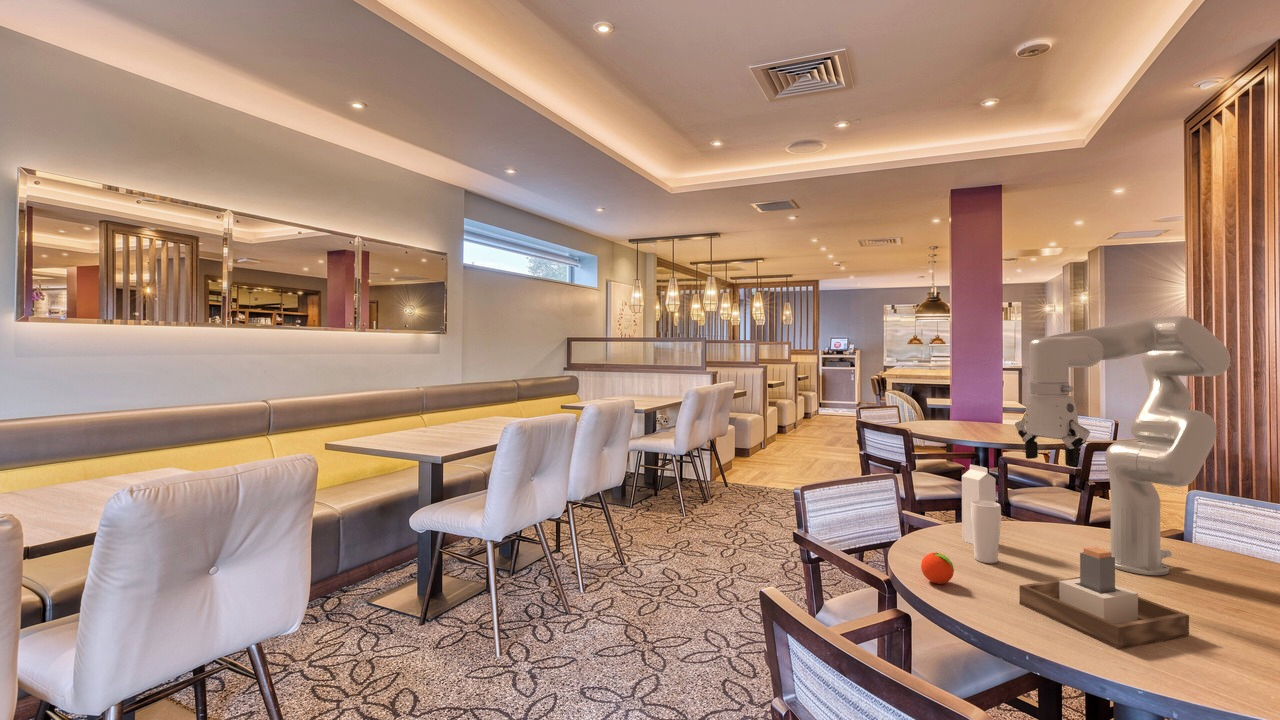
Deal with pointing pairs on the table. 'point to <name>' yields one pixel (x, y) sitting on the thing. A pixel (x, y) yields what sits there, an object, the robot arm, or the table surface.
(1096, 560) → the plug
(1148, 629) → the crate
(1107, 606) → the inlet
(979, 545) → the drinking glass
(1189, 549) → the table surface
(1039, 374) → the robot arm
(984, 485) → the milk
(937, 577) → the clementine
